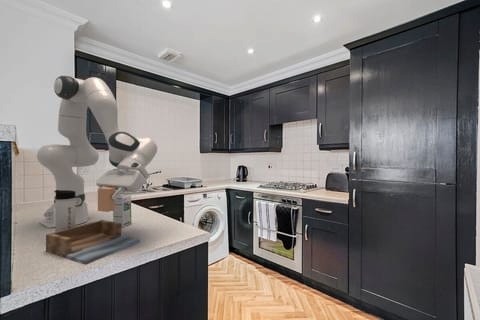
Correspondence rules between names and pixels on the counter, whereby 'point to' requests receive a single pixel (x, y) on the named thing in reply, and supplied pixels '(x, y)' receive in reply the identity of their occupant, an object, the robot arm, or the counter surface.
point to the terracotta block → (106, 199)
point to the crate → (88, 241)
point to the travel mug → (64, 209)
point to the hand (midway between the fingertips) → (106, 198)
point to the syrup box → (122, 210)
